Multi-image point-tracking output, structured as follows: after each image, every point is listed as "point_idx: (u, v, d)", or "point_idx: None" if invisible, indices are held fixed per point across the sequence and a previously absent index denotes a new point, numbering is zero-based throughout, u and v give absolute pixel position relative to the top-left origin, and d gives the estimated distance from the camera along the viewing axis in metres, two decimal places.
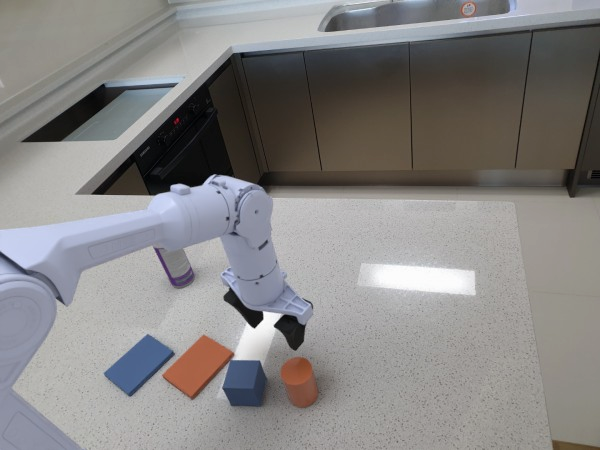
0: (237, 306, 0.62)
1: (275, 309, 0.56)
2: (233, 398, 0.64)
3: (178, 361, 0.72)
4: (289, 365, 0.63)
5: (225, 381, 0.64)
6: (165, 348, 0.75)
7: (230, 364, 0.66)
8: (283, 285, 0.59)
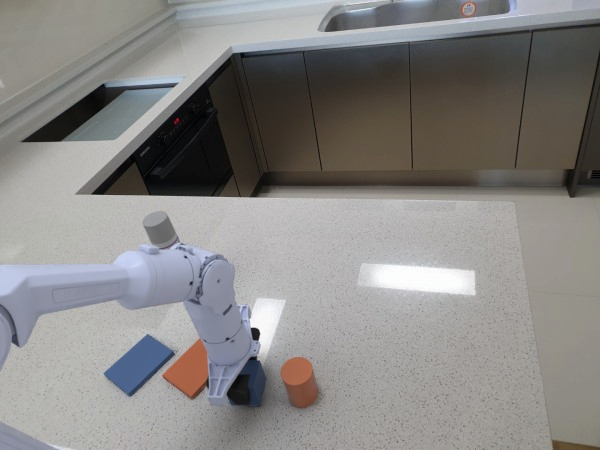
0: None
1: (208, 371, 0.58)
2: None
3: (178, 361, 0.72)
4: (289, 365, 0.63)
5: None
6: (165, 348, 0.75)
7: None
8: (235, 360, 0.58)
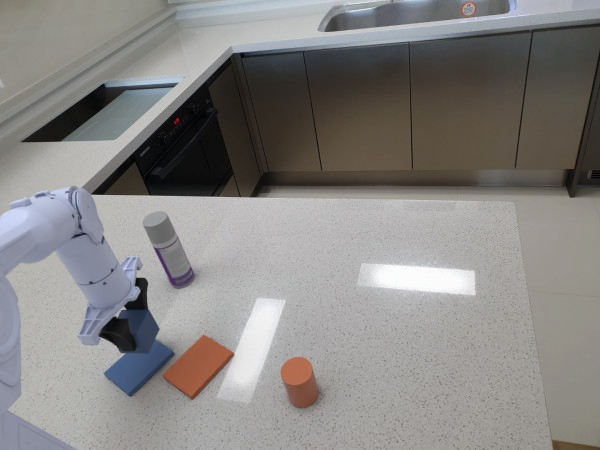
0: None
1: (85, 314, 0.60)
2: None
3: (178, 361, 0.72)
4: (289, 365, 0.63)
5: None
6: (165, 348, 0.75)
7: (120, 313, 0.68)
8: (111, 304, 0.60)
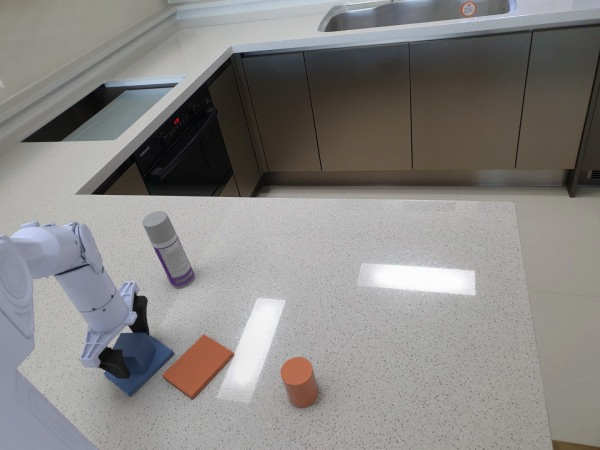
0: None
1: (86, 338, 0.65)
2: None
3: (178, 361, 0.72)
4: (289, 365, 0.63)
5: None
6: (165, 348, 0.75)
7: (120, 336, 0.73)
8: (110, 328, 0.65)
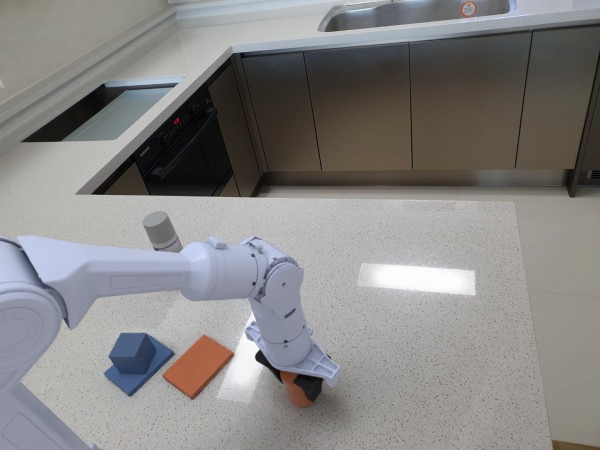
0: (269, 366, 0.61)
1: (303, 371, 0.56)
2: (120, 367, 0.71)
3: (178, 361, 0.72)
4: None
5: (112, 351, 0.71)
6: (165, 348, 0.75)
7: (120, 336, 0.73)
8: (310, 344, 0.58)
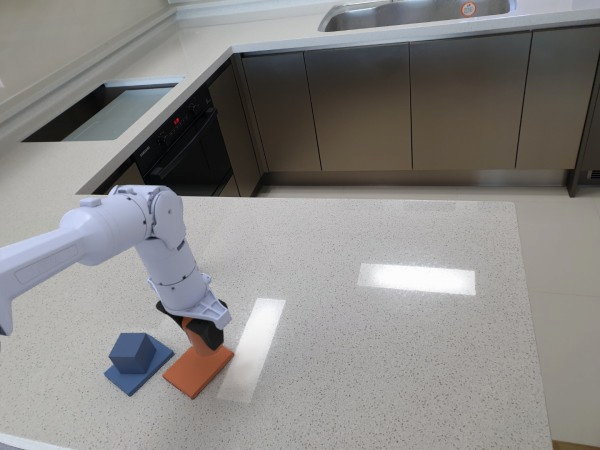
0: (169, 314, 0.62)
1: (193, 314, 0.57)
2: (120, 367, 0.71)
3: (178, 361, 0.72)
4: None
5: (112, 351, 0.71)
6: (165, 348, 0.75)
7: (120, 336, 0.73)
8: (204, 290, 0.59)
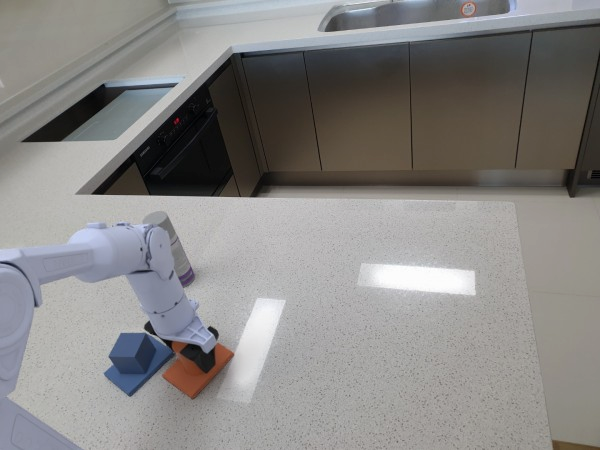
0: (156, 334, 0.68)
1: (181, 339, 0.62)
2: (120, 367, 0.71)
3: (178, 361, 0.72)
4: None
5: (112, 351, 0.71)
6: (165, 348, 0.75)
7: (120, 336, 0.73)
8: (192, 316, 0.64)
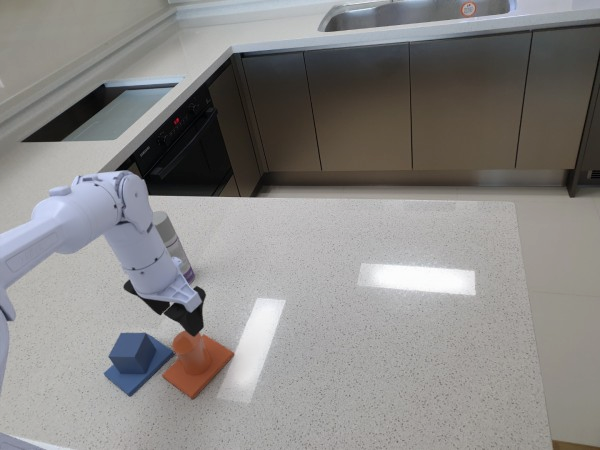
0: (136, 294, 0.64)
1: (163, 297, 0.58)
2: (120, 367, 0.71)
3: (178, 361, 0.72)
4: (181, 336, 0.69)
5: (112, 351, 0.71)
6: (165, 348, 0.75)
7: (120, 336, 0.73)
8: (175, 274, 0.60)
